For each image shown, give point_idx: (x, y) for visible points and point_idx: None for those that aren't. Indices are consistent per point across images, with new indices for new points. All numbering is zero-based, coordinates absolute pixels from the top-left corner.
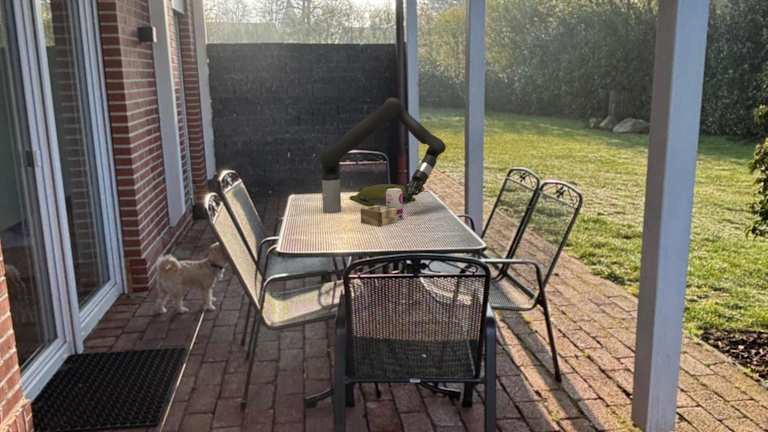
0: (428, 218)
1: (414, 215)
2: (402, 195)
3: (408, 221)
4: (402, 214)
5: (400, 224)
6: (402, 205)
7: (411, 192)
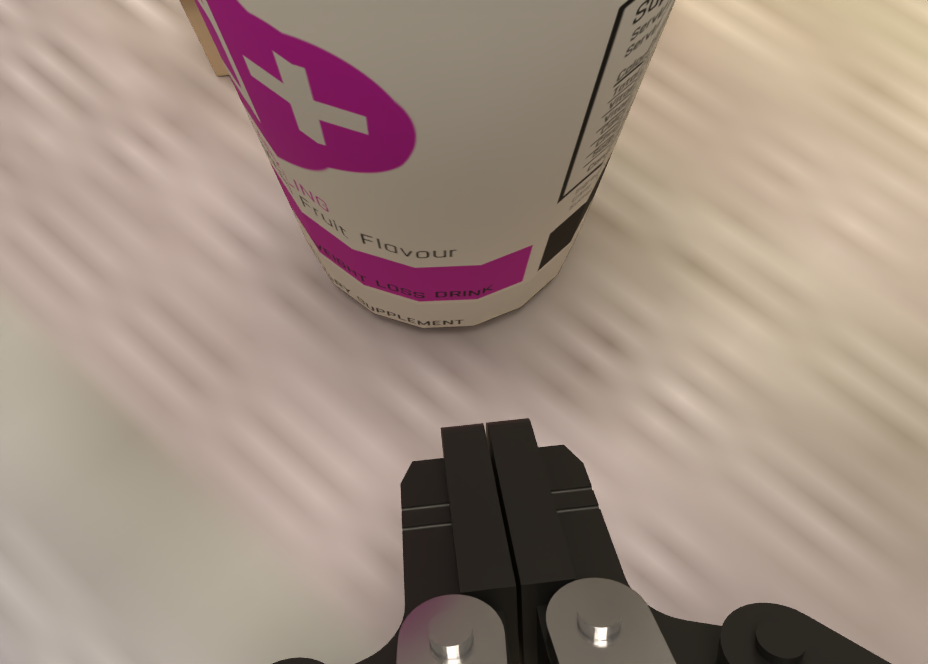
0: (9, 654)
1: None
2: (215, 18)
3: (133, 237)
4: (307, 235)
5: (83, 32)
6: (276, 163)
7: (404, 648)
